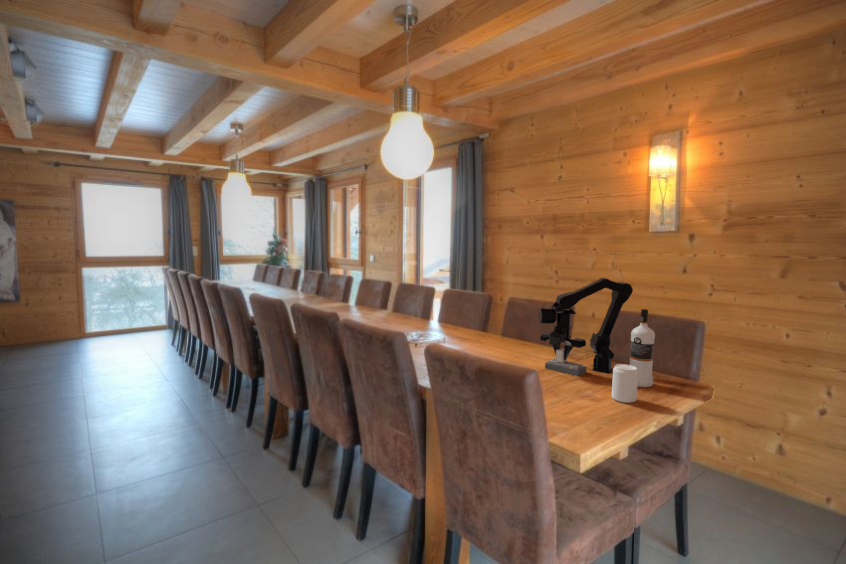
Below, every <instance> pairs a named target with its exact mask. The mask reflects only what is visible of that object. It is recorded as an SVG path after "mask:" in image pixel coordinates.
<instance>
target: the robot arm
mask: <svg viewBox="0 0 846 564" xmlns="http://www.w3.org/2000/svg"><path fill="white" fill-rule="evenodd" d="M604 289H608V290H611V301H610V304H609V307H608V309H607V311H606V313H605V316H604V319H603V321H602V324H601V325H600V329H599V331H598V332H597V333H595V332H593V333H592V334H591V339H589V342H590V343H589V345H590V348H591V350H593V352H594V354H595V355H594V358H593V365H592V370H594V371H597V372H601V373H607V374H608V373H610V372H611V371H612V372H613V369H614V368H612V365H613V363H612V361H613V359H614V357H615V353H614V352H613V351H612V350H611V349H610V345H611V335H612V332H613V329H614V327H615V324H616V322H617V319H618V317H619V315H620V313H621V311H622V310H621V309H622V308H623V305H624V304H625V303H626V302H627V301H629V299H630V297H631V295H632V293H634V292H633V291H634V289H633V287H632V285H631V284H630V283H627V282H623V281H613V280H610V279H609V278H605V277H600V278H599V279H597V280H595V281H593V282H591V283H589V284H587V285H585V286H582V287H581V288H579V289H578V288H577V290H574V291H569V292H565V293H561V294H559V295H557V296H556V298H555V302H554V303H553V304H552V305H551V307H550V308H549V307H540V308H539V310H538V315H537V316H538V317H537V320H538V323H539V324H545V325H546V324H549V325H550V324H551V325H553V324H554V323H555V326H554V329H553V331H551V332H544V333H541V334H540V335H539V341H543V342H547V341H548V340H549V341H548V344H549V345H551V346H552V347H553V350H554V354H555V355H556V350H557V349H560V348H561V346H562V345H561V344H562V343H565V344H564V345H563V347H564V348H563V349H565V352H564V360H566V359H567V360H568V357H569V355H570V354H571V351H572V350H573V348H578V349H581V348H583V347H586V345H587V342H586V340H585V339H584V338H580V337H576V338H573V339H572V338H571V337H572V335H571V334H570V333H571V329H572V325H571V315H576V314H577V312H575V311H574V309H573V308H572V307H574V306H575V305H577V304H578V303H579V301H581V300H583V299H585V298H587V297H589V296H591V295H594V294H595V293H598V292H601V291H602V290H604Z"/></svg>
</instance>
